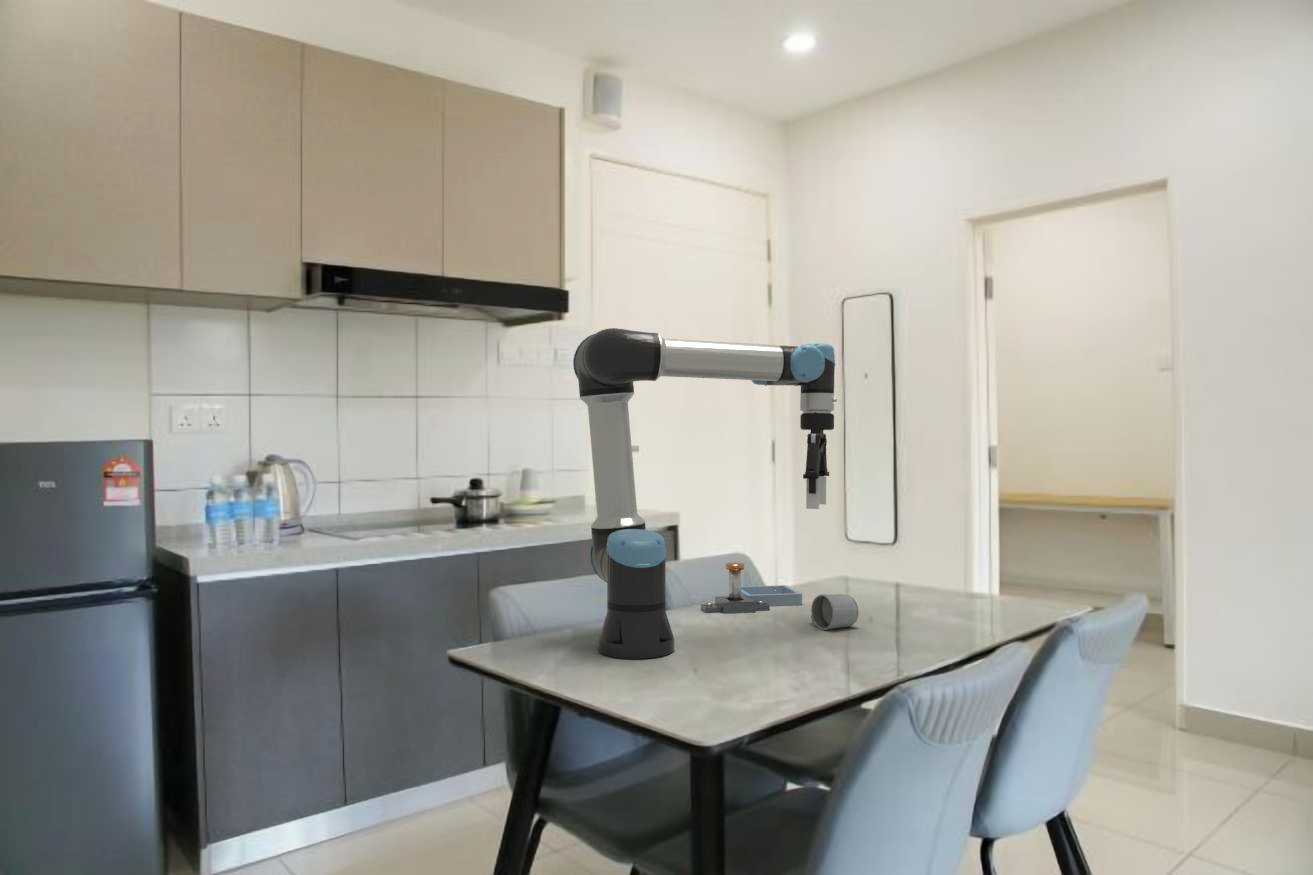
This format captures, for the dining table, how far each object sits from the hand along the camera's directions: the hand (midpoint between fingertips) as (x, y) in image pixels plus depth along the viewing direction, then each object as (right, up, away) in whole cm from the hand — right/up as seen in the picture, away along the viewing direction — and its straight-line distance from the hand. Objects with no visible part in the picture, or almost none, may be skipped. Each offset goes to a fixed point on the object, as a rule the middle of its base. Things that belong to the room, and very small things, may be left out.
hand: (816, 506), depth 205 cm
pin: (-17, -26, +16) cm, 35 cm away
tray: (-8, -26, +27) cm, 39 cm away
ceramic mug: (+3, -27, -3) cm, 27 cm away
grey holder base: (-17, -26, +16) cm, 35 cm away
